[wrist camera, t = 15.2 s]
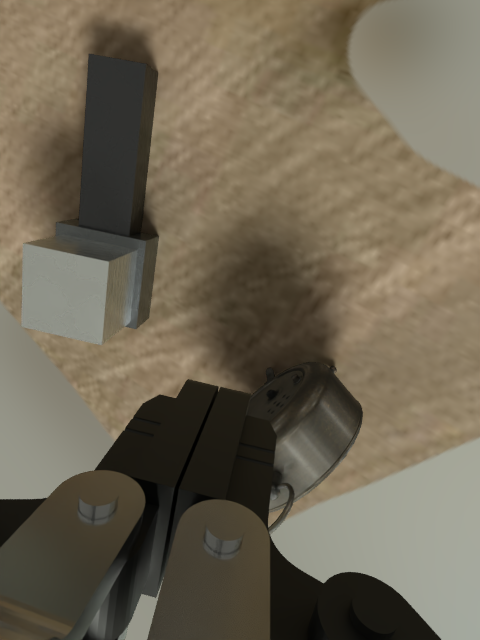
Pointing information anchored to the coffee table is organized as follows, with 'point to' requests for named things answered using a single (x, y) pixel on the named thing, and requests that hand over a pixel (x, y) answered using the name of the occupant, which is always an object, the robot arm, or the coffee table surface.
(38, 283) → the brushed grey cube
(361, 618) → the robot arm
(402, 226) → the coffee table surface
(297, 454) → the alarm clock
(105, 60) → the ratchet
